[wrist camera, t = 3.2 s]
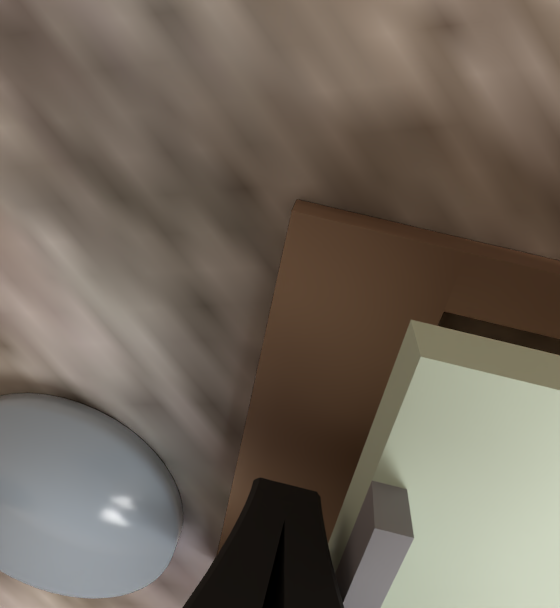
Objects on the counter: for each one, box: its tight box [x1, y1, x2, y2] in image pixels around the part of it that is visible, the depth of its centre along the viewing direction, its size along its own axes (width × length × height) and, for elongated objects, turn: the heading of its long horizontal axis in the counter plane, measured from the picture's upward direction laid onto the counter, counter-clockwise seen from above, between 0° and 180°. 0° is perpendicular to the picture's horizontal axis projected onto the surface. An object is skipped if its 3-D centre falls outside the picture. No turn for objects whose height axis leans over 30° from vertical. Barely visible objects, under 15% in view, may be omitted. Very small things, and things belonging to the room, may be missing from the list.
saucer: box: [0, 393, 183, 598], centre depth 17 cm, size 9×9×1 cm
